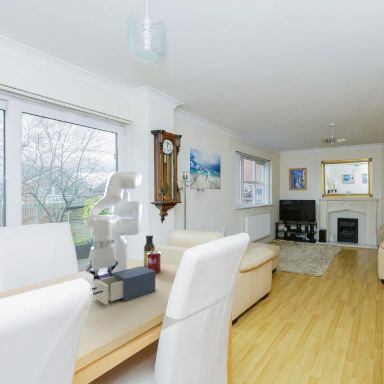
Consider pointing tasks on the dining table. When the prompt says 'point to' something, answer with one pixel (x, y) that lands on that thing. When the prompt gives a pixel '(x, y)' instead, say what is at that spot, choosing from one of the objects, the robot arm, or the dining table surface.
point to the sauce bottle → (148, 248)
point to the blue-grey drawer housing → (136, 281)
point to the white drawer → (108, 289)
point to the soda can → (154, 261)
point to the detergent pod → (103, 275)
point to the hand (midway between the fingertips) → (102, 281)
